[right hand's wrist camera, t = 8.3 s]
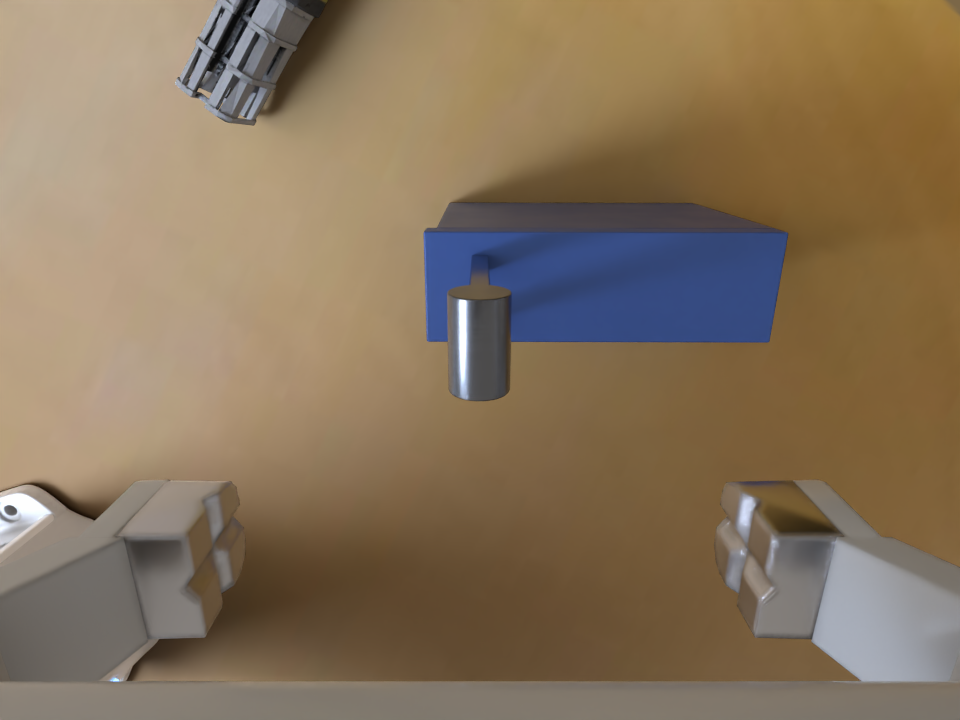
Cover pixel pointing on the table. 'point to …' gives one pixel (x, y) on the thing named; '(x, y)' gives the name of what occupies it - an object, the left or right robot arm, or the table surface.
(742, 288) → the lid
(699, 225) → the chest
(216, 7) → the toy gun
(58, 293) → the table surface
